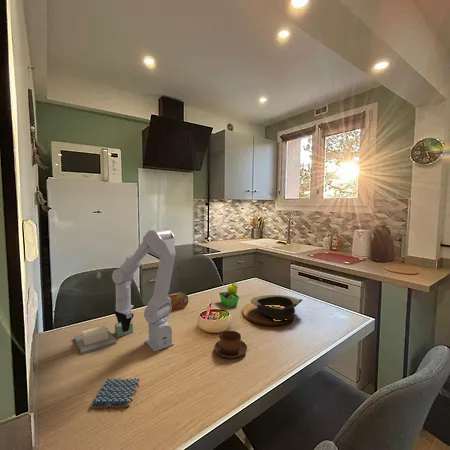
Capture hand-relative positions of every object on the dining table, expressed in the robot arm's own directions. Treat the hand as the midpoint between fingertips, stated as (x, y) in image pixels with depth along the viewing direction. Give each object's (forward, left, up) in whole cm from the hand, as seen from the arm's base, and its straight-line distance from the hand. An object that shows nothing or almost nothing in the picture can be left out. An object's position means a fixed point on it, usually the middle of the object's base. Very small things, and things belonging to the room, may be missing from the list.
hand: (123, 329), depth 108 cm
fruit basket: (-2, -56, -2) cm, 56 cm away
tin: (+9, -28, -2) cm, 29 cm away
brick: (0, 0, -2) cm, 2 cm away
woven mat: (-35, +13, -2) cm, 37 cm away
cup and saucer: (-38, -26, -2) cm, 46 cm away
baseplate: (0, +11, -2) cm, 11 cm away
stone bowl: (-26, -65, -2) cm, 70 cm away
